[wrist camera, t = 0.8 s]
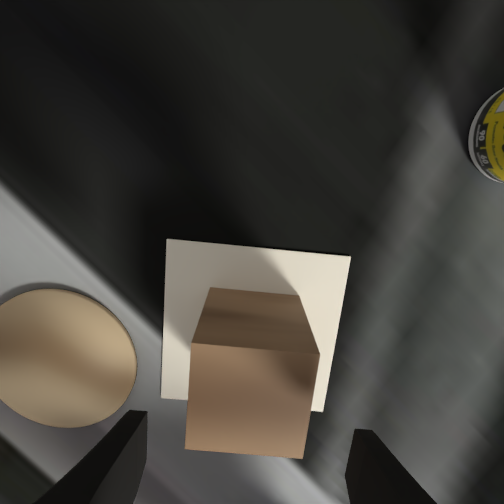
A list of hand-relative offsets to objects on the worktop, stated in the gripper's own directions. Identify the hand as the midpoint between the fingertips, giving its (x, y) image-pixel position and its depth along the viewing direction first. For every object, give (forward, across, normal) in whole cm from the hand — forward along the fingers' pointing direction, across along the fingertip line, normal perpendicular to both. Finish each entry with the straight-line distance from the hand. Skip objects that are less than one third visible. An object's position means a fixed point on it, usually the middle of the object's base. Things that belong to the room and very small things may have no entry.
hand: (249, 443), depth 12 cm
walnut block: (+8, 0, 0) cm, 8 cm away
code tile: (+8, 0, 0) cm, 8 cm away
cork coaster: (+8, +11, +3) cm, 14 cm away
